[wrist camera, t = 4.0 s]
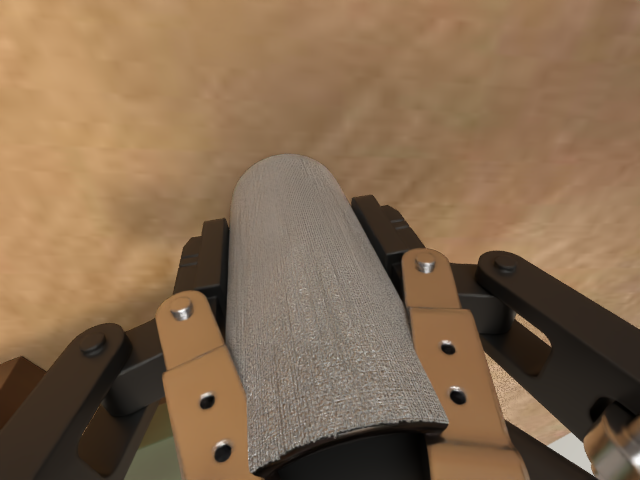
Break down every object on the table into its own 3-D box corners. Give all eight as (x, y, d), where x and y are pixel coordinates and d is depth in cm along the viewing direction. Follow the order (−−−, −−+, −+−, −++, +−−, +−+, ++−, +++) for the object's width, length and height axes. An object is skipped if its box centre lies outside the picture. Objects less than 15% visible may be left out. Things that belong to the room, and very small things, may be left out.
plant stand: (-25, 365, 16) (-171, 568, 10) (211, 269, 15) (195, 427, 10) (140, 457, 23) (108, 605, 17) (305, 394, 22) (328, 526, 17)
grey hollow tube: (344, 149, 13) (521, 403, 5) (337, 244, 16) (445, 514, 8) (223, 154, 12) (192, 467, 4) (237, 253, 15) (235, 566, 7)
